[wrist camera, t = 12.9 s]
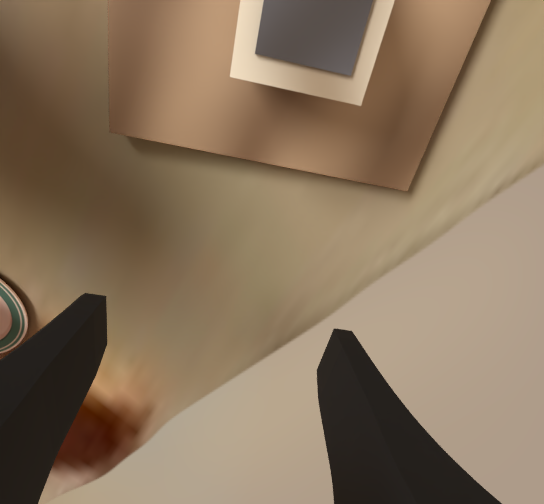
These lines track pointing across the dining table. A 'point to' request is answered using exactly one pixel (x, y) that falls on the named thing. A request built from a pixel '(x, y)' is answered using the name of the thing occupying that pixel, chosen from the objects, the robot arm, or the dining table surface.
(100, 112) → the dining table surface
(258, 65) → the birch block
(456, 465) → the robot arm
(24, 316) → the apple
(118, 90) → the walnut board
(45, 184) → the dining table surface
